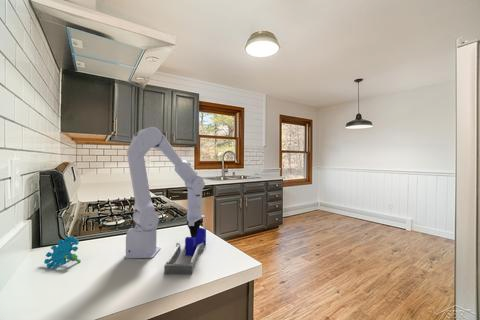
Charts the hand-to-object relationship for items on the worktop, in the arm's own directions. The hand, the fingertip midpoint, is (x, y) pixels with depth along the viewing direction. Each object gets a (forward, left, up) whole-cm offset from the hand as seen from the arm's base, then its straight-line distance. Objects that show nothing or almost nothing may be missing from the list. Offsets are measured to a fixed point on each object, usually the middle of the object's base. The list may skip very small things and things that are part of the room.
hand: (194, 238), depth 91 cm
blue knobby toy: (-38, -20, -1) cm, 43 cm away
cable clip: (+1, -8, -1) cm, 8 cm away
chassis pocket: (0, -18, -1) cm, 18 cm away
